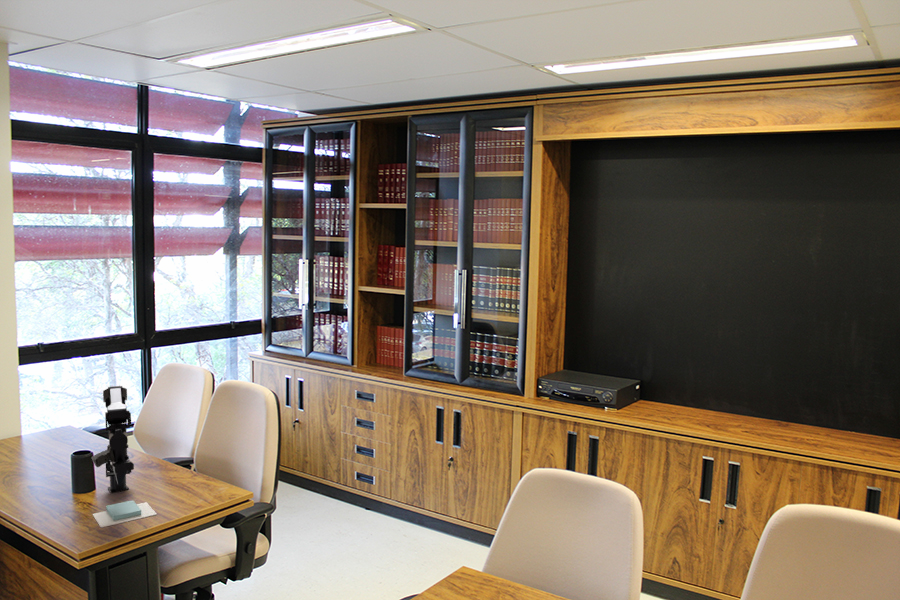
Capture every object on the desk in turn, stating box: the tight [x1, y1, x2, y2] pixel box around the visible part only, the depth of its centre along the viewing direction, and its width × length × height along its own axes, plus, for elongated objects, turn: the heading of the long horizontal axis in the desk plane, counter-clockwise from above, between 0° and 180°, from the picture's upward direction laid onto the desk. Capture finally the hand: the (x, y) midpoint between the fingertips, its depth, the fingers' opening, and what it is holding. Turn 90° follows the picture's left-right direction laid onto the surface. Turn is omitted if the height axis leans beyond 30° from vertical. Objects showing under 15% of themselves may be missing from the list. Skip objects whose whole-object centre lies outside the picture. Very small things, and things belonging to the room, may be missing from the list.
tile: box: [105, 500, 141, 520], centre depth 237 cm, size 2×9×12 cm
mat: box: [92, 501, 158, 528], centre depth 236 cm, size 14×18×1 cm
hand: (119, 484), depth 240 cm, fingers closed
